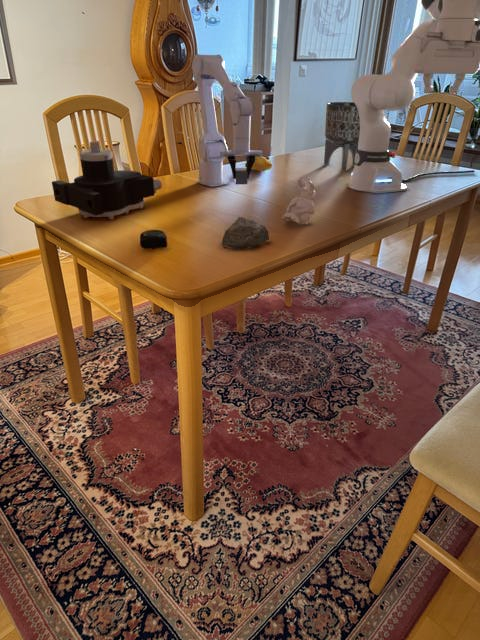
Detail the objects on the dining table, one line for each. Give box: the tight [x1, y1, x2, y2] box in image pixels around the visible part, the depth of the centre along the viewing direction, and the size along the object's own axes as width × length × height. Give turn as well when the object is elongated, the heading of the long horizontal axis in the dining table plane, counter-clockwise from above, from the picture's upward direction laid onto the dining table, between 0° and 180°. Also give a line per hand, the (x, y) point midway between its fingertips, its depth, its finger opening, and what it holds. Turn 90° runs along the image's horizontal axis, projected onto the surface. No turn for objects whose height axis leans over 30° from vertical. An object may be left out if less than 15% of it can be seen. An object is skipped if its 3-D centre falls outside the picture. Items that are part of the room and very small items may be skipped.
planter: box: [323, 101, 360, 172], centre depth 204 cm, size 20×20×26 cm
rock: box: [221, 216, 270, 250], centre depth 119 cm, size 13×9×6 cm, turn 131°
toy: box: [244, 156, 273, 172], centre depth 200 cm, size 11×6×15 cm
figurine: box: [281, 177, 316, 225], centre depth 135 cm, size 8×15×13 cm, turn 145°
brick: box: [233, 167, 248, 185], centre depth 161 cm, size 4×4×5 cm
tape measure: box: [139, 229, 168, 250], centre depth 117 cm, size 7×7×4 cm
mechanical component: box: [51, 141, 163, 220], centre depth 140 cm, size 22×21×30 cm
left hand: (240, 178), depth 161 cm, fingers closed on brick, 4 cm apart
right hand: (440, 93), depth 124 cm, fingers open, 8 cm apart
